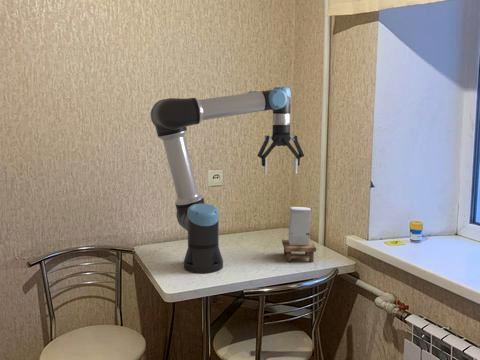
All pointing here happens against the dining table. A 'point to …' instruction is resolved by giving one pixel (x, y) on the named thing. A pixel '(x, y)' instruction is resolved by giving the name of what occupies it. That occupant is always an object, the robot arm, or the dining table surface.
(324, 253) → the dining table surface
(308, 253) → the stool
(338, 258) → the dining table surface
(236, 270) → the dining table surface
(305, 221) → the skincare box
